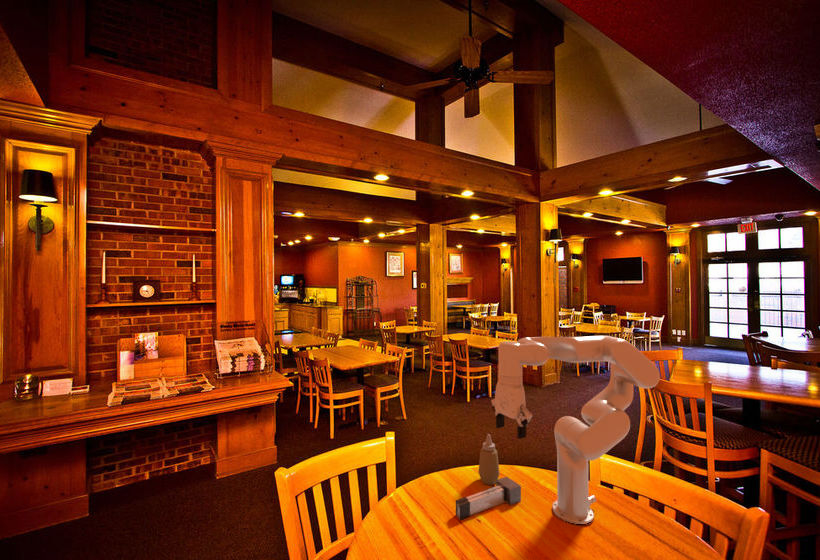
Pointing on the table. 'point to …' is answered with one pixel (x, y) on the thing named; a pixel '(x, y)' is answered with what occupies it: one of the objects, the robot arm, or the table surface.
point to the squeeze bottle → (488, 463)
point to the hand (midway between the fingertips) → (510, 432)
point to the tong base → (510, 488)
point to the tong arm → (480, 503)
